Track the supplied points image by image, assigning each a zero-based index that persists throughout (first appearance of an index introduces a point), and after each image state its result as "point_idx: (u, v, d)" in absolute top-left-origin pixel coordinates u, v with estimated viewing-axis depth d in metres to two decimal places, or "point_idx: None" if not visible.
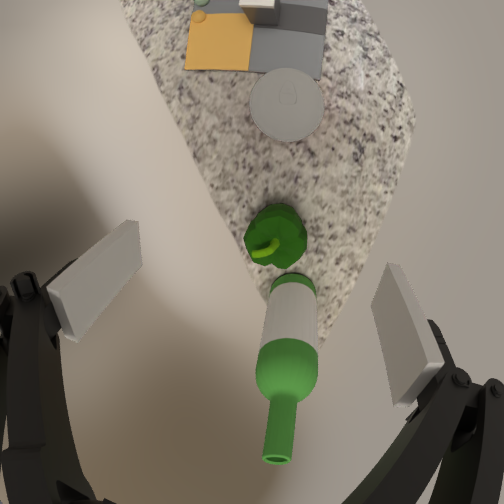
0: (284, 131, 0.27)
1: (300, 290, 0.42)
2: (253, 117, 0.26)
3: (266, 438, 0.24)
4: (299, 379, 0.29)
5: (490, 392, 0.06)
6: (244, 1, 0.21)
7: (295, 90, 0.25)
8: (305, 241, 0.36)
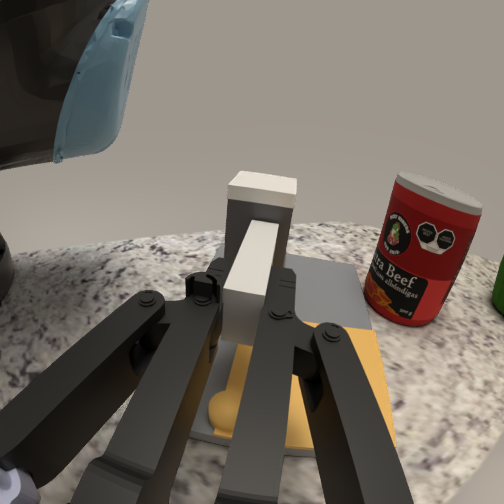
0: (466, 199, 0.18)
1: None
2: (477, 206, 0.15)
3: None
4: None
5: (323, 340, 0.08)
6: (287, 190, 0.15)
7: (421, 183, 0.19)
8: None
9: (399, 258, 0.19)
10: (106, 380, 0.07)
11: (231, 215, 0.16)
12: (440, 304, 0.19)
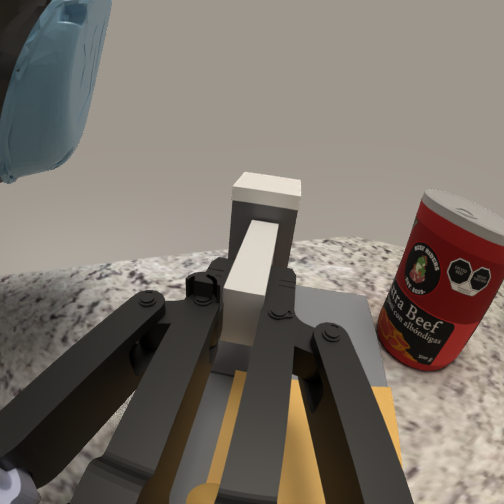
0: (499, 223, 0.14)
1: None
2: None
3: None
4: None
5: (323, 340, 0.08)
6: (292, 192, 0.15)
7: (452, 206, 0.15)
8: None
9: (424, 299, 0.15)
10: (106, 380, 0.07)
11: (235, 217, 0.16)
12: (463, 346, 0.15)
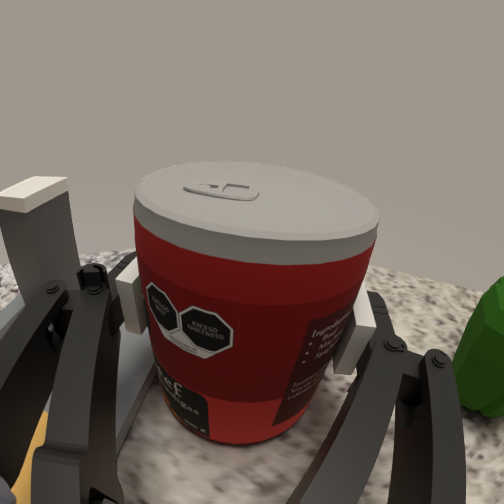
0: (344, 207, 0.09)
1: None
2: (321, 234, 0.06)
3: None
4: None
5: (431, 364, 0.07)
6: (26, 194, 0.11)
7: (216, 182, 0.10)
8: None
9: (151, 342, 0.10)
10: (34, 362, 0.07)
11: (1, 223, 0.12)
12: (274, 425, 0.10)
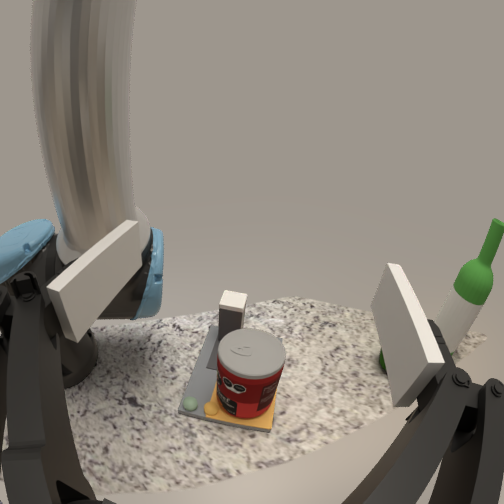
0: (276, 355, 0.32)
1: None
2: (263, 373, 0.29)
3: (497, 236, 0.33)
4: (468, 263, 0.39)
5: (490, 392, 0.06)
6: (240, 305, 0.43)
7: (239, 345, 0.32)
8: None
9: (220, 387, 0.32)
10: None
11: (220, 313, 0.43)
12: (257, 411, 0.33)
